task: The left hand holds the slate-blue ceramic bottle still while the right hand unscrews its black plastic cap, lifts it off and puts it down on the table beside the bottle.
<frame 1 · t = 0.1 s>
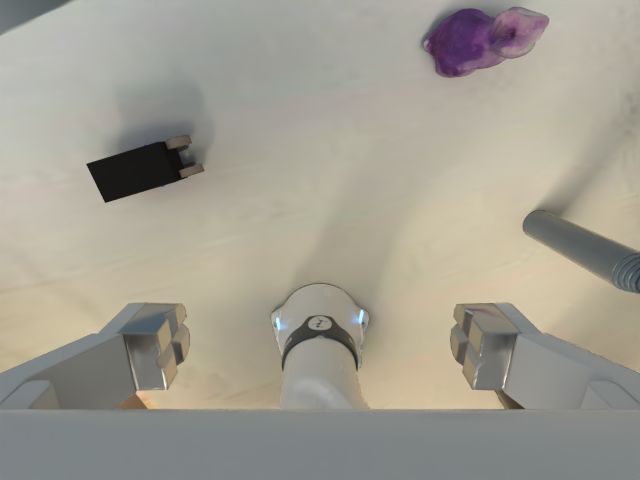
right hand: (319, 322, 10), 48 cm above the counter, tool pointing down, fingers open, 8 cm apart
figurine: (462, 46, 50), on the counter
figurine character: (161, 163, 56), on the counter
bottle: (537, 223, 60), on the counter
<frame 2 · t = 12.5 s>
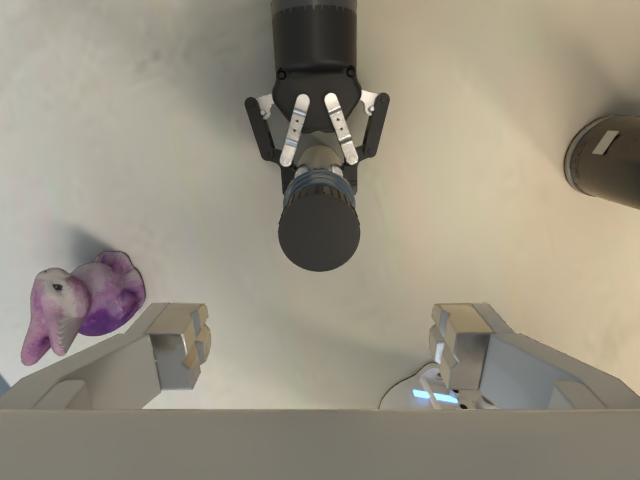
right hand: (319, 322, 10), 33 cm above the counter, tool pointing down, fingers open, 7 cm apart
left hand: (320, 199, 36), fingers closed on bottle, 5 cm apart
figurine: (114, 279, 47), on the counter
cap: (319, 232, 18), point 25 cm above the counter, screwed on, not yet turned
bottle: (319, 165, 42), on the counter, touching left hand
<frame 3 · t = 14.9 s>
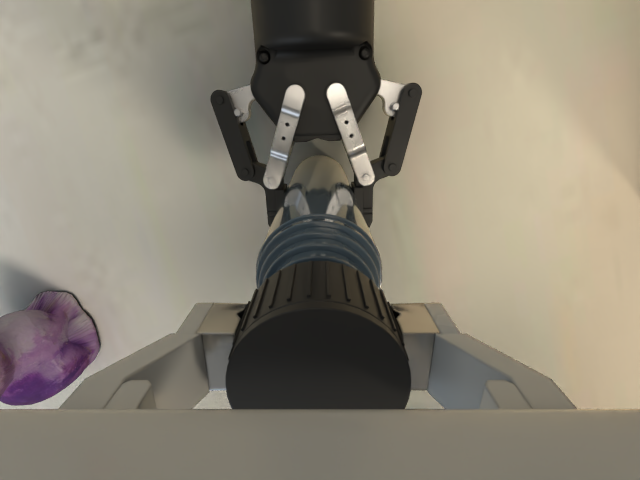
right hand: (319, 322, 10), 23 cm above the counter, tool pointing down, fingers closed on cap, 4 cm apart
figurine: (60, 325, 37), on the counter
cap: (318, 379, 8), point 25 cm above the counter, screwed on, not yet turned, touching right hand
bottle: (319, 182, 32), on the counter, touching left hand
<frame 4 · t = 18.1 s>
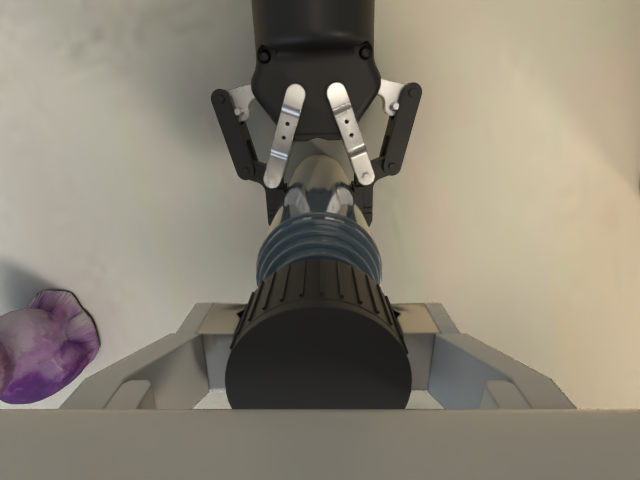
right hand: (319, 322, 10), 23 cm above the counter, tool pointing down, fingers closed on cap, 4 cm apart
figurine: (59, 324, 37), on the counter
cap: (318, 378, 8), point 25 cm above the counter, turned 89° so far, risen 0.1 cm, still on its thread, touching right hand
bottle: (319, 182, 32), on the counter, touching left hand
when the right hand's fingers open (2 cm above the counter, at t = 38.8 s): cap drops 2 cm, point 2 cm above the counter.
when the left hand's fingers open (7 cm above the counter, at t = 40.0 s): bottle stays where it is, on the counter.
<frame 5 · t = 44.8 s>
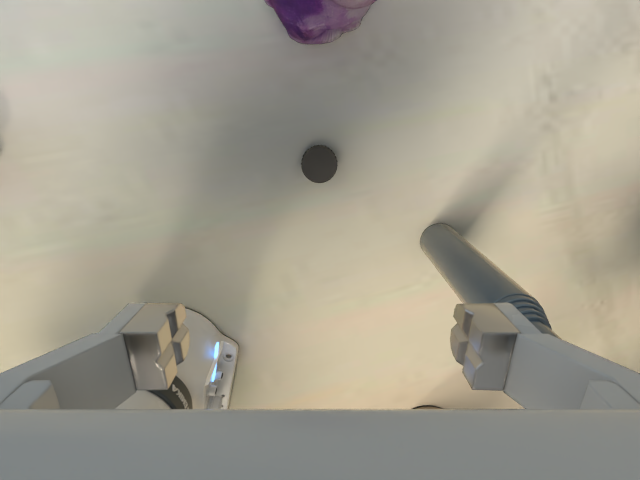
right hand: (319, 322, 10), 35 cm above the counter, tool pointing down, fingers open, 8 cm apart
figurine: (323, 2, 38), on the counter
cap: (319, 165, 41), point 2 cm above the counter, off its thread
bottle: (438, 240, 47), on the counter
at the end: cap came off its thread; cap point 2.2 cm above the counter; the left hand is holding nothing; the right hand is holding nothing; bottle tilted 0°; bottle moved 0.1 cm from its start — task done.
